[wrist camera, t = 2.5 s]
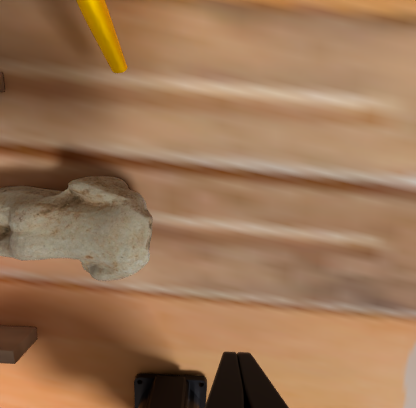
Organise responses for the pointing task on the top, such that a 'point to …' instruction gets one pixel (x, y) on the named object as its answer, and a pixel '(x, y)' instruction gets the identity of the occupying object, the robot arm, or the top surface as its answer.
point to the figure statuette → (103, 32)
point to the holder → (14, 335)
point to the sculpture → (78, 225)
